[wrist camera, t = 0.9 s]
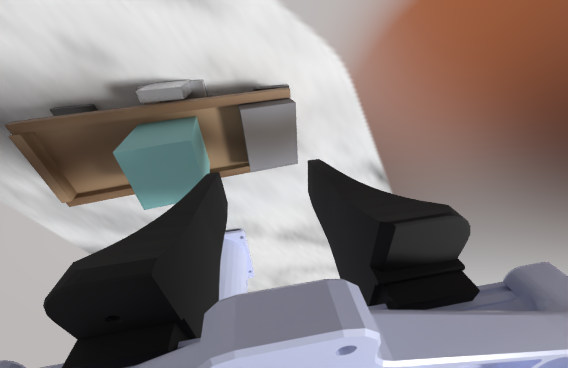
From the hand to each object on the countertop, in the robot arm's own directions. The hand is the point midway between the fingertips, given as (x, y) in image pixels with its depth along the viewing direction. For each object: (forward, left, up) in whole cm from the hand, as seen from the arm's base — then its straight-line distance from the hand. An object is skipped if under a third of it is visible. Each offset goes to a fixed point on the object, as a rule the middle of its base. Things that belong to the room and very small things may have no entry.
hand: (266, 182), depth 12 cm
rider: (0, +7, -7) cm, 10 cm away
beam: (0, +7, -8) cm, 11 cm away
